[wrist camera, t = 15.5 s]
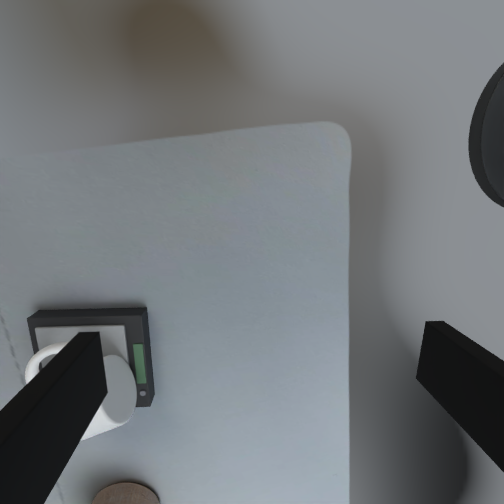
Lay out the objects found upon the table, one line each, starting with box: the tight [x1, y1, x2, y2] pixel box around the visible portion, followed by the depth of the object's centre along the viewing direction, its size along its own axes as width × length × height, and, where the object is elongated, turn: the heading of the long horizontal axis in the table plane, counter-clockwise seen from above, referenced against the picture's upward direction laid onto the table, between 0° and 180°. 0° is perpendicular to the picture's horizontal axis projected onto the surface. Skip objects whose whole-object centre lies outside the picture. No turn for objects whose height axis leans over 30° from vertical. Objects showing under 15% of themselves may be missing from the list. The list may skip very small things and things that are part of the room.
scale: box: [27, 308, 155, 407], centre depth 39 cm, size 14×14×3 cm
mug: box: [25, 342, 137, 441], centre depth 34 cm, size 12×10×8 cm
